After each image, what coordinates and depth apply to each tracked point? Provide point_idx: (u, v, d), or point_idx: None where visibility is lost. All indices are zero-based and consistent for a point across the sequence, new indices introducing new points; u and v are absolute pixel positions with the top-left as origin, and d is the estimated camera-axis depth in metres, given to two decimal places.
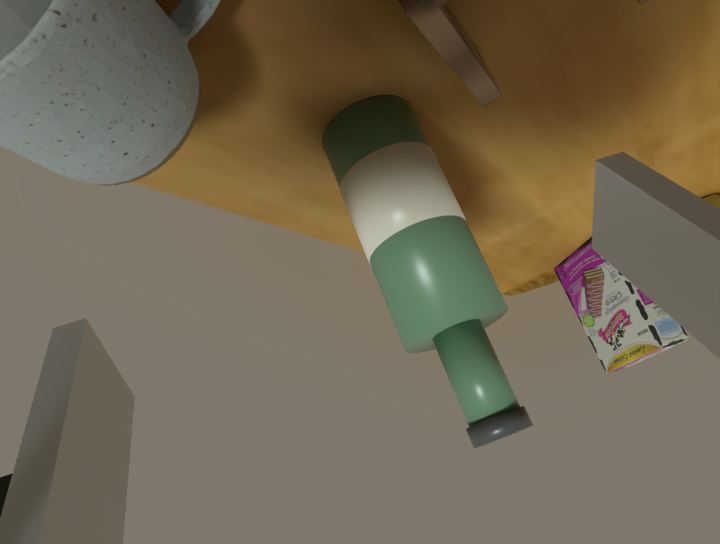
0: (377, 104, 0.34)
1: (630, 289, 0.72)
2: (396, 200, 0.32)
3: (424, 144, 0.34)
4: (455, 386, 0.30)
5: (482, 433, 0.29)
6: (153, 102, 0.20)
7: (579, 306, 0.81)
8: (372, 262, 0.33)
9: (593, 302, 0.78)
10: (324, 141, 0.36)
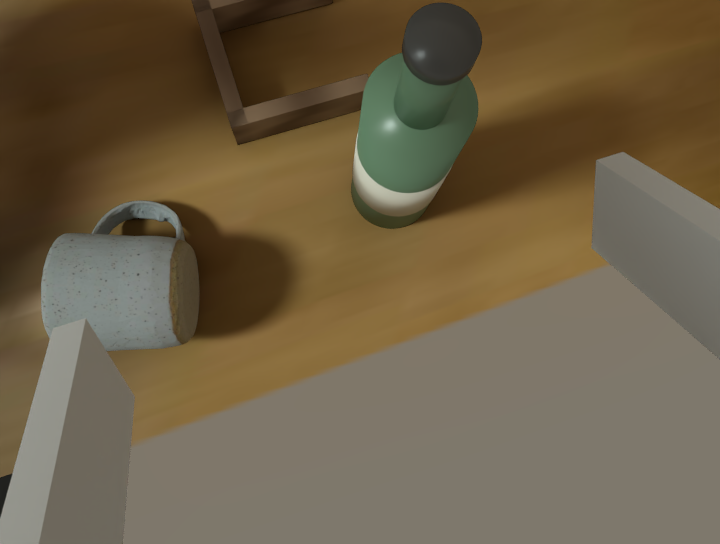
0: None
1: None
2: (355, 157, 0.37)
3: None
4: (416, 100, 0.27)
5: (410, 62, 0.24)
6: (131, 247, 0.36)
7: None
8: (389, 187, 0.35)
9: None
10: (375, 223, 0.43)
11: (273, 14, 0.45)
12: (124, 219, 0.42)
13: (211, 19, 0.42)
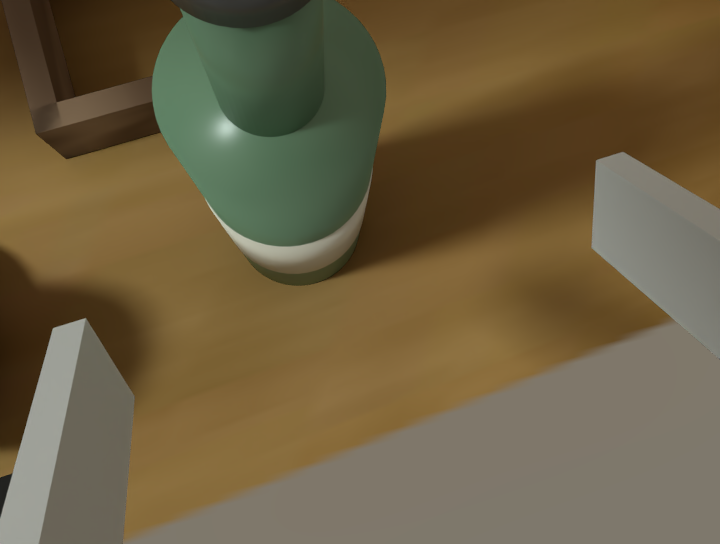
0: None
1: None
2: None
3: None
4: (222, 71, 0.12)
5: None
6: None
7: None
8: (250, 237, 0.20)
9: None
10: (271, 278, 0.28)
11: None
12: None
13: None
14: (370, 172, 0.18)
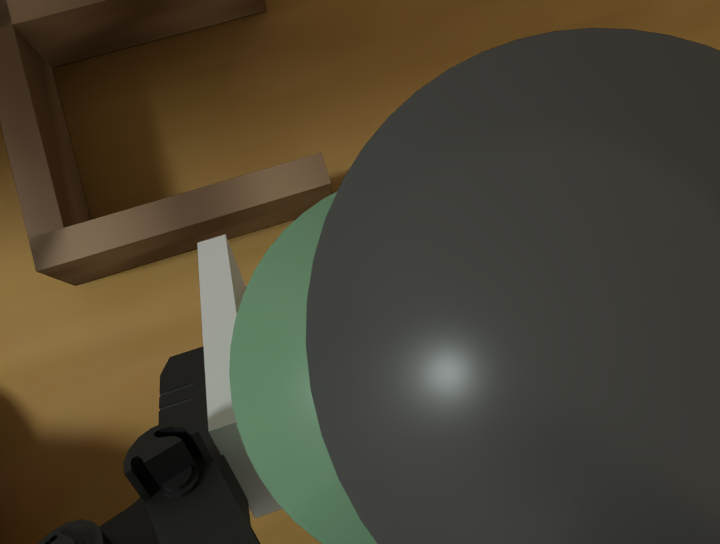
0: None
1: None
2: None
3: None
4: None
5: None
6: None
7: None
8: None
9: None
10: None
11: (152, 33, 0.24)
12: None
13: (10, 46, 0.21)
14: None
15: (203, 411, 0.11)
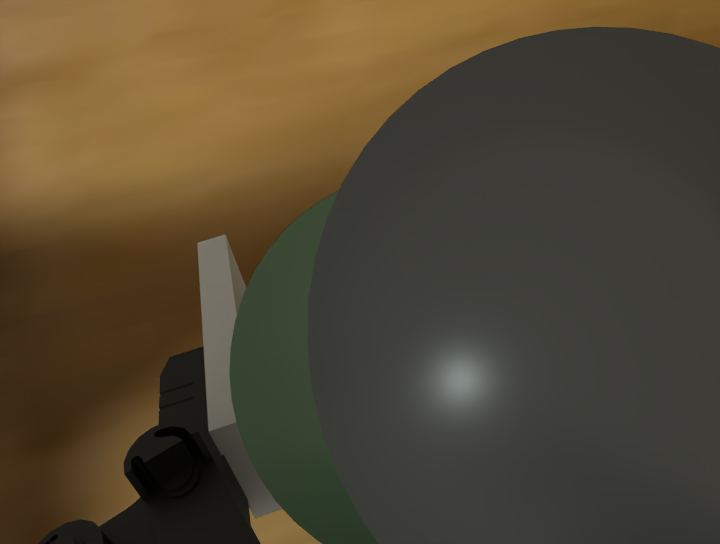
0: None
1: None
2: None
3: None
4: None
5: None
6: None
7: None
8: None
9: None
10: None
11: None
12: None
13: None
14: None
15: (203, 411, 0.11)
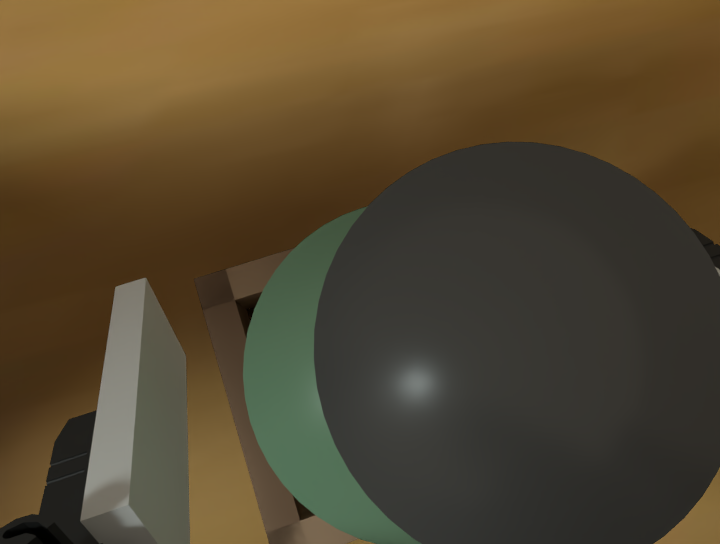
0: None
1: None
2: None
3: None
4: None
5: None
6: None
7: None
8: None
9: None
10: None
11: None
12: None
13: (233, 323, 0.21)
14: None
15: None
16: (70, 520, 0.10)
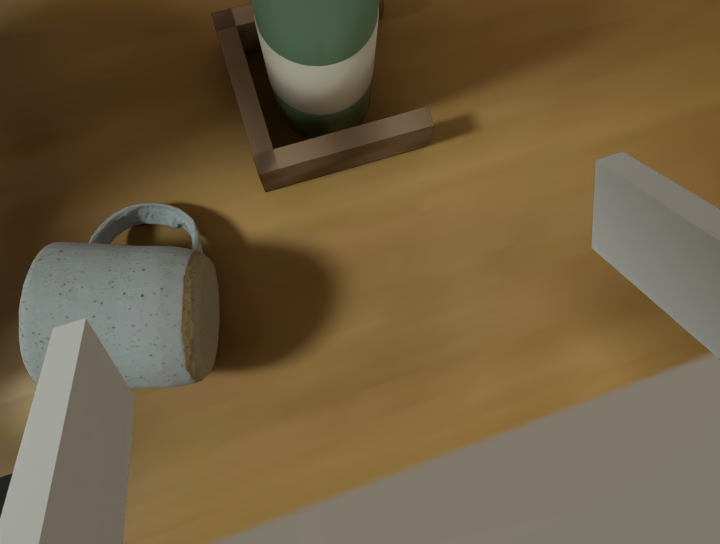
0: None
1: None
2: None
3: None
4: None
5: None
6: (134, 260, 0.28)
7: None
8: (290, 57, 0.28)
9: None
10: (300, 132, 0.36)
11: None
12: (130, 225, 0.34)
13: (235, 39, 0.34)
14: (376, 4, 0.26)
15: None
16: None
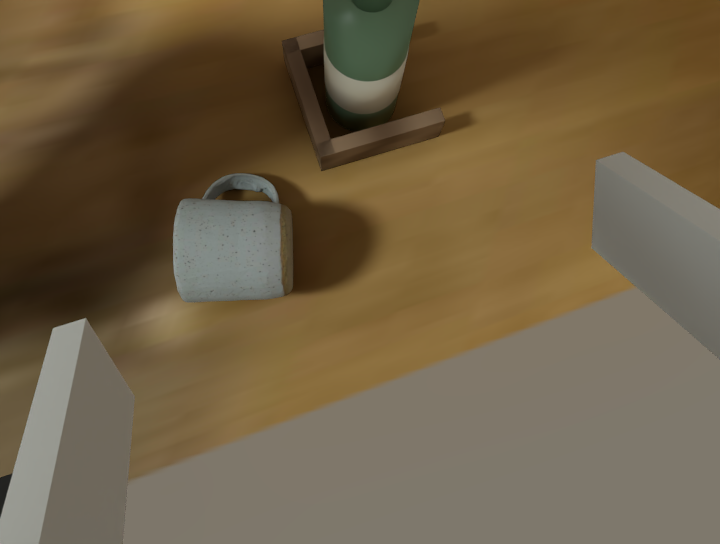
0: None
1: None
2: None
3: None
4: None
5: None
6: (245, 209, 0.41)
7: None
8: (350, 75, 0.41)
9: None
10: (346, 127, 0.49)
11: None
12: (225, 190, 0.47)
13: (300, 59, 0.47)
14: (409, 40, 0.40)
15: None
16: None
